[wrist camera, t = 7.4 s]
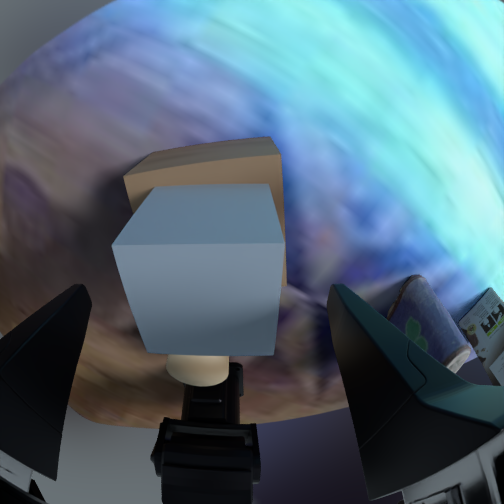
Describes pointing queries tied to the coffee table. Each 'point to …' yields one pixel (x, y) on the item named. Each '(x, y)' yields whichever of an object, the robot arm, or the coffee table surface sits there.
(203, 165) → the tan block
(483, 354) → the coffee box
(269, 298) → the blue cube
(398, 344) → the robot arm
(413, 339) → the flask
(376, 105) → the coffee table surface
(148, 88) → the coffee table surface
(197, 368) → the beech cylinder
